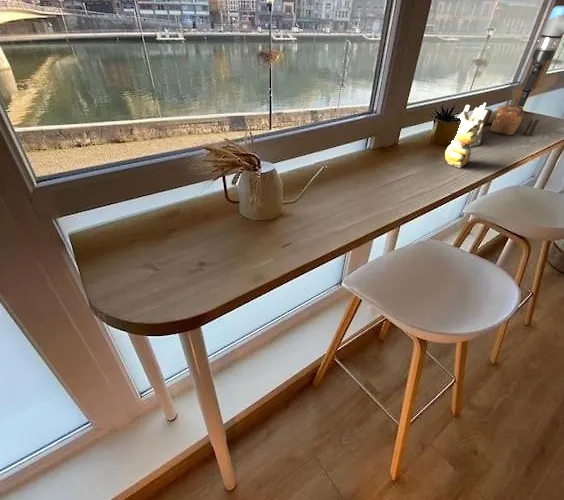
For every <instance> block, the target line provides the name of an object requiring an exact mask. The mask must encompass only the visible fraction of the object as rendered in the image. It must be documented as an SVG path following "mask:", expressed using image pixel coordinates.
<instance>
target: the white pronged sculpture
mask: <svg viewBox="0 0 564 500" xmlns="http://www.w3.org/2000/svg"><path fill="white" fill-rule="evenodd" d="M486 106H487V102H484V103H483V104H481V105H480V106H479V107H475V108H474V110H473V112H472V114H471V115H469V114H468V113H469V111H470V107H471V105H470V104H466V105H465V107H464V109H463V111H462V112H460V114H458V115H457V116H456V117H458V118H460V120H461V123H460V125H459V128H458V131H459V130H460V129H461V128H463V127H467V126H468V125H469V124H470V123H472V122H474V121H477V123H476V124H477V125H480V130H478V133H477V134H478V139H477V140H476V141H475V142H473V143H472V144H470V145H471V148H472V147H476V146H479V145H481V142H482V137H483V127H484V126H483V123H484V119H485V116H486V113H487V111H488V110H485V109H486ZM476 124H475V125H476ZM458 131H457V133H458ZM456 139H457V134H456V136H455V138H454V140H452V141H451V142H450V143H451V144H452V143H453V142H455V140H456Z"/></svg>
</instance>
